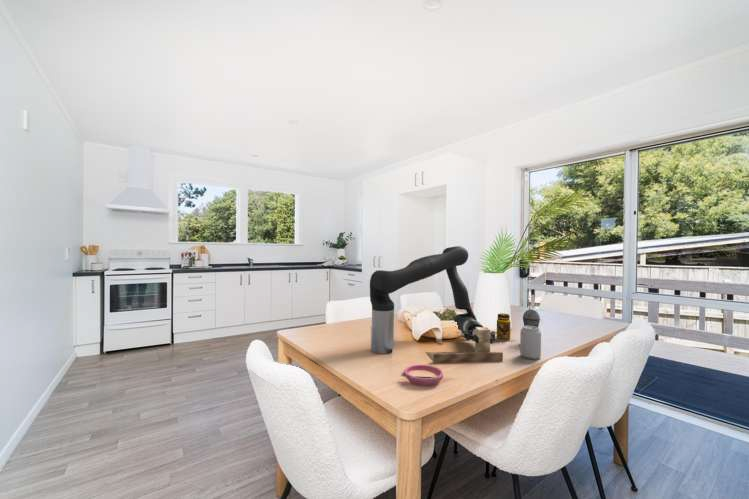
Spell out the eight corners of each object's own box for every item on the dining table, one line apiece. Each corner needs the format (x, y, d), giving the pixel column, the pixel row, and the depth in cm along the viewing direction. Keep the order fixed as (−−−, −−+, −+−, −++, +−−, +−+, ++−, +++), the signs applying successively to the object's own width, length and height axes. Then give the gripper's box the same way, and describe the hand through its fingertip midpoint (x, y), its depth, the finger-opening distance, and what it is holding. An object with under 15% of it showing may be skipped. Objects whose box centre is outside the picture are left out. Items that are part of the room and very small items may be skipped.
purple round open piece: (396, 381, 105) (396, 371, 105) (417, 370, 114) (417, 361, 114) (430, 392, 97) (430, 381, 97) (449, 380, 106) (450, 370, 106)
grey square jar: (544, 360, 126) (545, 329, 126) (525, 359, 127) (525, 329, 127) (535, 354, 134) (535, 324, 134) (517, 353, 134) (517, 324, 134)
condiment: (503, 342, 151) (503, 316, 151) (489, 337, 159) (490, 312, 159) (514, 340, 154) (515, 315, 154) (501, 336, 162) (501, 311, 162)
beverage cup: (542, 346, 145) (543, 301, 145) (526, 346, 145) (527, 301, 145) (535, 341, 152) (535, 298, 152) (519, 341, 152) (520, 298, 152)
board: (434, 367, 117) (434, 354, 117) (425, 356, 129) (425, 344, 129) (502, 365, 120) (502, 352, 120) (487, 354, 132) (487, 343, 132)
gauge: (479, 358, 122) (480, 331, 122) (475, 352, 128) (475, 327, 128) (491, 358, 121) (492, 331, 121) (486, 352, 128) (487, 327, 128)
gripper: (456, 320, 140) (465, 330, 123) (490, 321, 140) (504, 331, 123) (456, 337, 141) (465, 350, 123) (490, 338, 140) (503, 351, 123)
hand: (484, 340), depth 123 cm, fingers closed on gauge, 4 cm apart
